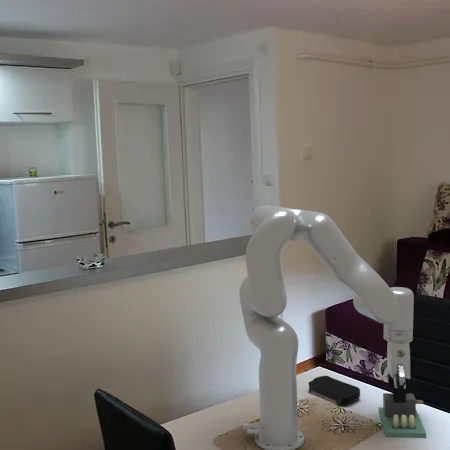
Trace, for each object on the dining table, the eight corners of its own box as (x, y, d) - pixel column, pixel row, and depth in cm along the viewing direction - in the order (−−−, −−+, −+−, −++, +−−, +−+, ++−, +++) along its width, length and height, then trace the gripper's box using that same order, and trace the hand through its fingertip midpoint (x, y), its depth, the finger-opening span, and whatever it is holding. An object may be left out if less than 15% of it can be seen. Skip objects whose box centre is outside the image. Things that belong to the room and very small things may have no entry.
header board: (385, 436, 153) (385, 420, 153) (378, 411, 168) (378, 396, 168) (426, 437, 152) (426, 421, 152) (415, 412, 167) (415, 397, 166)
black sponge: (363, 401, 176) (363, 389, 176) (343, 409, 171) (343, 397, 171) (324, 385, 189) (324, 374, 189) (304, 392, 185) (304, 380, 184)
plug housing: (385, 416, 162) (385, 399, 161) (383, 410, 166) (383, 393, 165) (424, 417, 161) (424, 399, 160) (421, 411, 165) (421, 393, 164)
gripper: (418, 344, 152) (416, 408, 154) (407, 325, 169) (405, 383, 171) (388, 343, 153) (386, 407, 155) (379, 324, 170) (378, 382, 172)
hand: (396, 395), depth 163 cm, fingers open, 9 cm apart
